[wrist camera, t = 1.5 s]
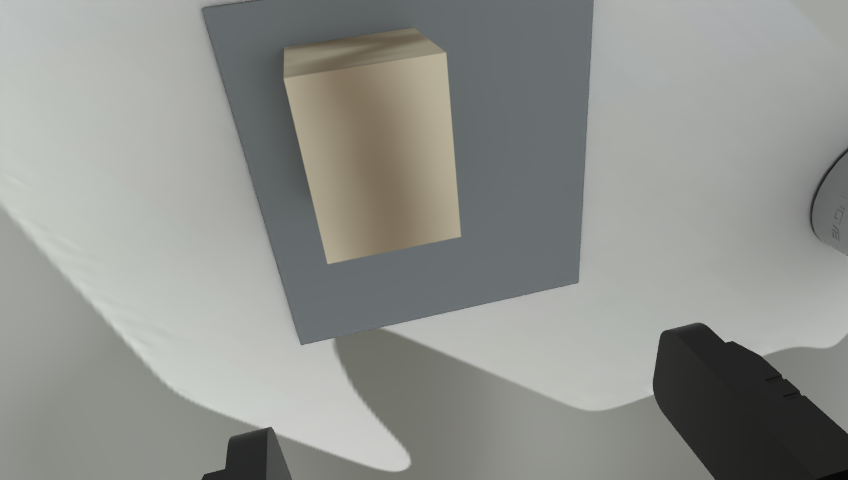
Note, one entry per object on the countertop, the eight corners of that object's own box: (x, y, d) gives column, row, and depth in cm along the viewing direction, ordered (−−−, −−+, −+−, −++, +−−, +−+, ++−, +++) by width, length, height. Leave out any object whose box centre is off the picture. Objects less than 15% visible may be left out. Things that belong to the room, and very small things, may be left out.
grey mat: (591, -47, 26) (596, -46, 25) (574, 278, 36) (578, 282, 35) (203, 7, 23) (201, 9, 23) (300, 339, 33) (301, 345, 33)
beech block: (413, 27, 25) (446, 52, 20) (430, 183, 29) (460, 236, 24) (284, 47, 24) (283, 78, 19) (320, 204, 28) (327, 264, 23)
